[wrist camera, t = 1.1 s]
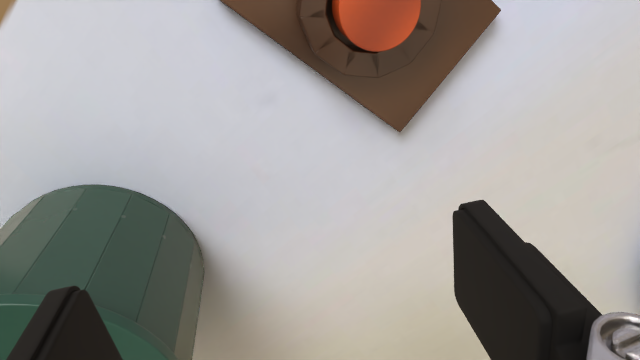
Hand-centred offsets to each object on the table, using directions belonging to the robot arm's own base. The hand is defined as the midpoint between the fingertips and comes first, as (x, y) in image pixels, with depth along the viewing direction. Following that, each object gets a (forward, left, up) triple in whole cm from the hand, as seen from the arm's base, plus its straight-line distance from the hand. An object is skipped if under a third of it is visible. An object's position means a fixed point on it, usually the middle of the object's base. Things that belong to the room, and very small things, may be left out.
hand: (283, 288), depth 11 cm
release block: (+1, +8, -15) cm, 16 cm away
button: (+1, +8, -12) cm, 15 cm away
